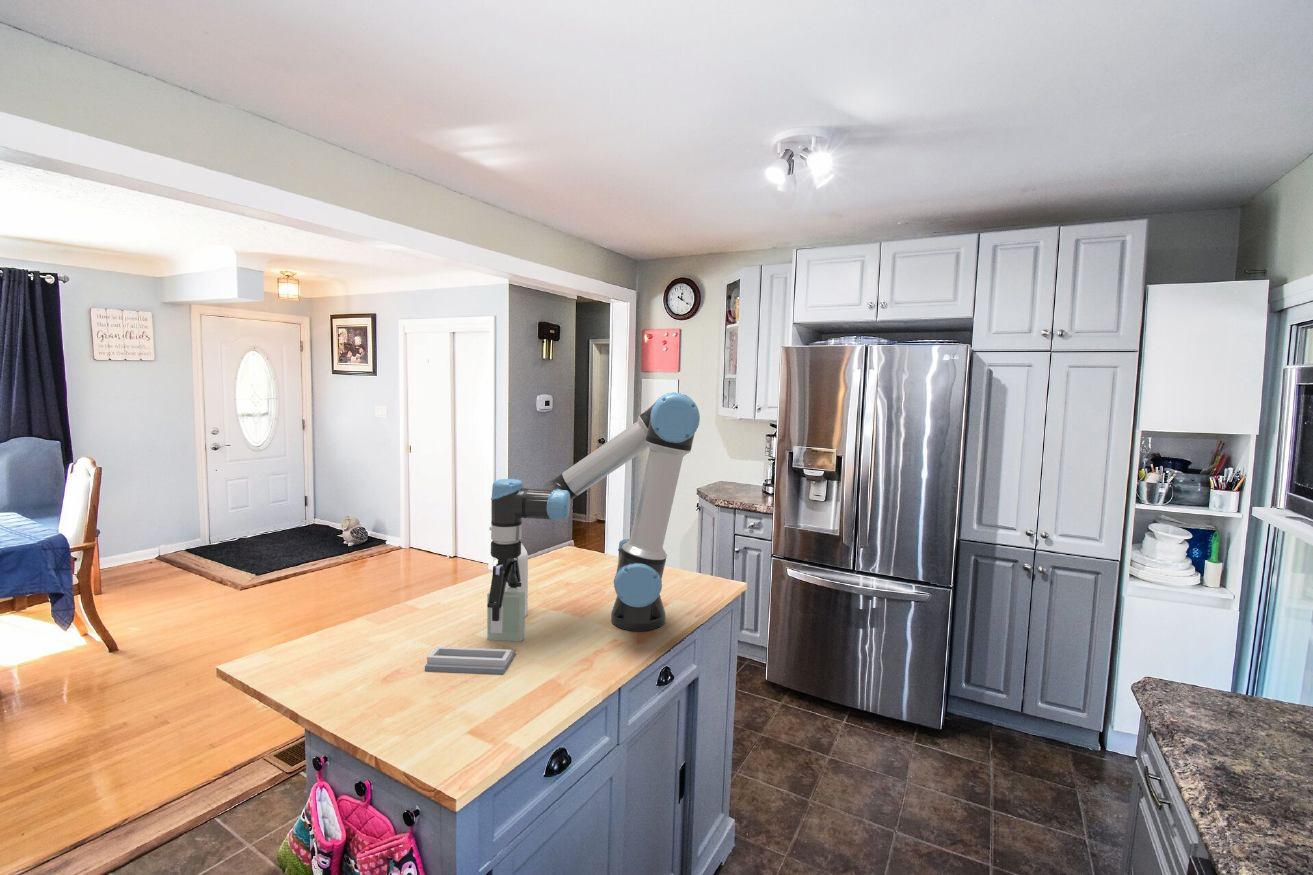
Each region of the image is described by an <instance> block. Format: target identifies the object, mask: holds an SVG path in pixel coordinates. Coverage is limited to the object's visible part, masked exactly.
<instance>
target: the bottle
mask: <svg viewBox="0 0 1313 875" xmlns="http://www.w3.org/2000/svg"><path fill="white" fill-rule="evenodd" d="M528 554H529V553H528V551H527V549H526V548H525V546H524V544H523V543H522V542H521V555H520V556H518V565H519V572H520V579H521V581H520V582H519V583H521V587H517V588H518V592H525V617H527V616H528V612H529V610H528V609H529V607H528V606H529V603H528V601H529V600H528V599H529V589H528V588H529V586H528V585H529V577H528V576H529V575H528V574H529V558H528V557H529V556H528ZM498 576H499V575H498ZM508 587H510V586H509V585H508V582H506V587H505V591H504V592H507V588H508Z"/></svg>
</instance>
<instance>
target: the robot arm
mask: <svg viewBox="0 0 1313 875" xmlns="http://www.w3.org/2000/svg"><path fill="white" fill-rule="evenodd" d="M700 416H701V415H700V411H699V408H698V406H697V404H696V402H695V401H694V400H693V399H692V398H691V397H690V396H688V395H687V394H684V393H681V392H674V391H673V392H669V393H668V392H667V393H665V394H663V395H661V396H660V397H658V399H657V400H656V401H655V402H654V403H653V404H652V405H651V406H650V407H648V409H646V410H645V411H644V412H643V413H641V414H640V415H638V418H637V421H636V422H634V423H633V424H631V425H630V426H628V427H627V428H625V429H624V430H623V431H621V432H620V433H618V434H617V435H615V436H614V437H612V438H611V439H610V440H608V441H607V442H606V443H603V444H602V445H600V447H598V448H597V449H595V450H593V451H592V452H591V453H589V454H588V455H586V456H585V457H584V458H582V459H580V460H579V461H578V462H576V463H575V464H573V465H572V466H570V467H568V468H567V469H566V470H565V471H563V472H562V473H560V474H559V475H558V476H556V477H555V478H553V479H551V480H549V481H547V482H546V483H545V484H544V486H543V487H541V488H526V487H524V486H523V482H522V480H520V479H515V478H501V479H496V480H495V481H494V482H493V483H492V484H491V486H492V487H491V497H490V500H491V502H490V503H491V505H490V506H491V507H490V508H491V509H490V512H491V517H490V518H491V523H490V524H491V526H489V531H491V532H490V534H491V536H490V539H491V542H490V555H491V557H492V558H495V559H497V563H496V565H493V567H492V575H491V583H490V584H491V585H490V588H489V592H490V595H489V602H488V604H486V607H488V608H491V633H502V629H503V606H502V601H503V596H504V591H505V587H506V582H508V585H509V586H510V587H508V588H507V592H518V588H517V587H521V583H519V582H520V581H521V579H520V572H519V565H518V556H520V555H521V543H522V541H521V540H522V534H523V533H522V532H523V531H522V527H523V526H522V523H523V522H522V521H523V520H522V519H533V520H534V519H535V520H552V521H557V520H567V519H568V518H569V516H570V510H571V501H572V500H573V499H575V498H577V497H578V496H579V495H581V494H582V493H584V492H585V491H587V490H588V489H589V488H591V487H593V486H594V485H596V484H597V483H598V482H600V481H601V480H603V479H604V478H606V477H607V476H609V475H611V474H612V473H613V472H615V471H616V470H618V469H619V468H620V467H622V466H624V465H625V464H627V463H628V462H630V461H631V460H633V459H634V458H636V457H637V456H638V455H640V454H641V453H642V452H644V451H646V450H647V449H649V452H648V456H647V460H646V464H645V469H644V472H643V473H644V474H643V478H642V482H641V488H640V493H639V497H638V501H637V506H636V509H635V510H636V511H635V515H634V519H633V523H632V527H631V533H630V538H625V539H621V541H619V542H618V543H619V545H618V548H617V552H618V563H617V567H616V571H615V572H616V573H615V575H614V578H613V579H614V580H613V585H614V586H613V587H614V591H615V594H616V598H615V600H614V604H613V606H612V610H611V617H610V619H611V620H610V622H611V623H612V624H613V626H615V627H617V628H620V629H622V630H626V631H633V632H635V631H636V632H644V631H651V630H655V629H659V628H661V627H662V626H664V624H665V623H666V611H665V608H664V604H663V602H662V601H663V600H662V597H661V592H662V588H663V584H662V583H663V580H662V578H663V574H664V570H665V566H666V562H667V561H666V560H667V557H668V554H667V553H666V550H664V548H663V547H664V543H665V539H666V535H667V530H668V526H669V521H670V517H671V511H672V508H673V503H674V500H675V499H674V498H675V494H676V490H677V485H678V480H679V476H680V472H681V469H682V463H683V458H684V456H686V455H687V454H689V453H691V452H692V447H693V443H694V439H695V434H696V432H697V429H698V428H699V426H700V419H701V417H700ZM498 575H499V576H498ZM494 602H496V603H494Z"/></svg>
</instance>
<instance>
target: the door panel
mask: <svg viewBox="0 0 1313 875" xmlns="http://www.w3.org/2000/svg"><path fill="white" fill-rule="evenodd" d="M486 594H487V595H486V596H487V599H486V600H487V602H486V603H487V604H488V602H489V595H490V591H489V592H488V593H486ZM494 603H496V602H494ZM487 604H486V605H487ZM502 606H503V629H502V633H491V608H488V607H487V606H486V607H487V608H486V609H487V611H486V612H487V615H486V616H487V622H486V623H487V637H486V638H487V640H488V641H489V640H490V641H511V642H513V641H515V642H523V641H524V640H525V635H526V634H525V627H526V626H525V625H526V624H525V620H526V619H525V617H526V616H525V592H504V596H503V601H502Z"/></svg>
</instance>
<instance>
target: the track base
mask: <svg viewBox="0 0 1313 875" xmlns="http://www.w3.org/2000/svg"><path fill="white" fill-rule="evenodd" d="M516 651H517V650H516V649H507V648H506V649H505V648H504V649H502V648H479V647H476V648H475V647H459V646H458V647H456V646H455V647H454V646H453V647H452V646H436V647H435V648H434V649H433V650H432V651H431V653H429V655H427V656H426V664H425V665H424V671H425V672H436V673H437V672H439V673H460V674H462V673H463V674H483V675H484V674H486V675H504V674H505V673H506V671H507V669H508V668H509V666H510V664H511V662H512V661H513V660H514V658H515V657H516V655H517V653H516Z"/></svg>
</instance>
